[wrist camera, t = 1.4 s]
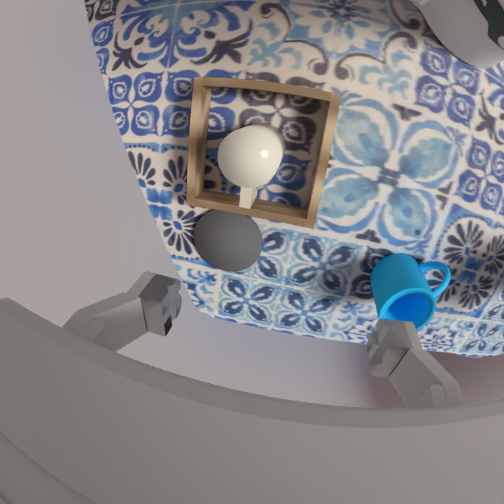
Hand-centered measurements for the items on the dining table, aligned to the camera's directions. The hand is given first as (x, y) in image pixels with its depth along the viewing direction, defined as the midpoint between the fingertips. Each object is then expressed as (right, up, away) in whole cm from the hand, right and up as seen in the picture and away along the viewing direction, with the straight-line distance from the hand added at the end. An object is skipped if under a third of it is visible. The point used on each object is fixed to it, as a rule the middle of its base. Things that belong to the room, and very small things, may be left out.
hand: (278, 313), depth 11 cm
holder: (0, +15, +22) cm, 26 cm away
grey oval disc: (-4, +4, +29) cm, 30 cm away
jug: (0, +14, +22) cm, 26 cm away
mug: (+22, 0, +26) cm, 34 cm away
